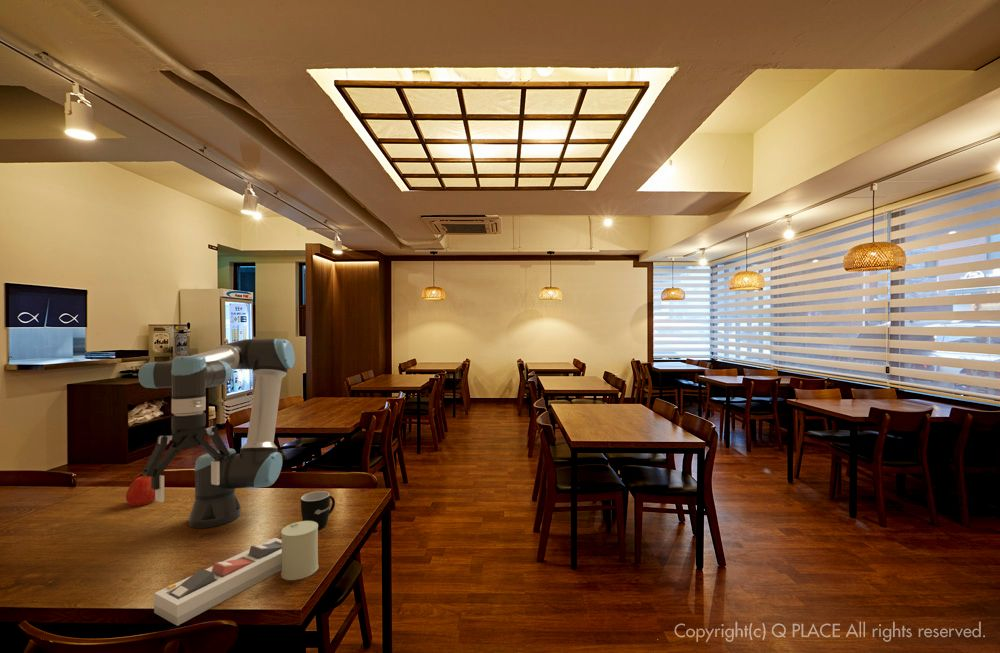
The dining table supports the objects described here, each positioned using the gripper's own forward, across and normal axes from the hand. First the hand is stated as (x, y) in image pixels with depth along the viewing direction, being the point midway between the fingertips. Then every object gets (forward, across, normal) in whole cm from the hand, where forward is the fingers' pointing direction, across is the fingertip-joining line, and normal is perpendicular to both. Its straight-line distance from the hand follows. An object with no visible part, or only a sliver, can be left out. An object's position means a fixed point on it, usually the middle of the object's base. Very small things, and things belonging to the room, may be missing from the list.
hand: (188, 492), depth 115 cm
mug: (+22, +36, -7) cm, 43 cm away
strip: (+22, +6, -16) cm, 28 cm away
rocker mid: (+17, +2, -16) cm, 23 cm away
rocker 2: (+17, +12, -16) cm, 26 cm away
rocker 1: (+17, -7, -16) cm, 24 cm away
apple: (+22, +20, +71) cm, 77 cm away
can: (+22, +14, -26) cm, 37 cm away
